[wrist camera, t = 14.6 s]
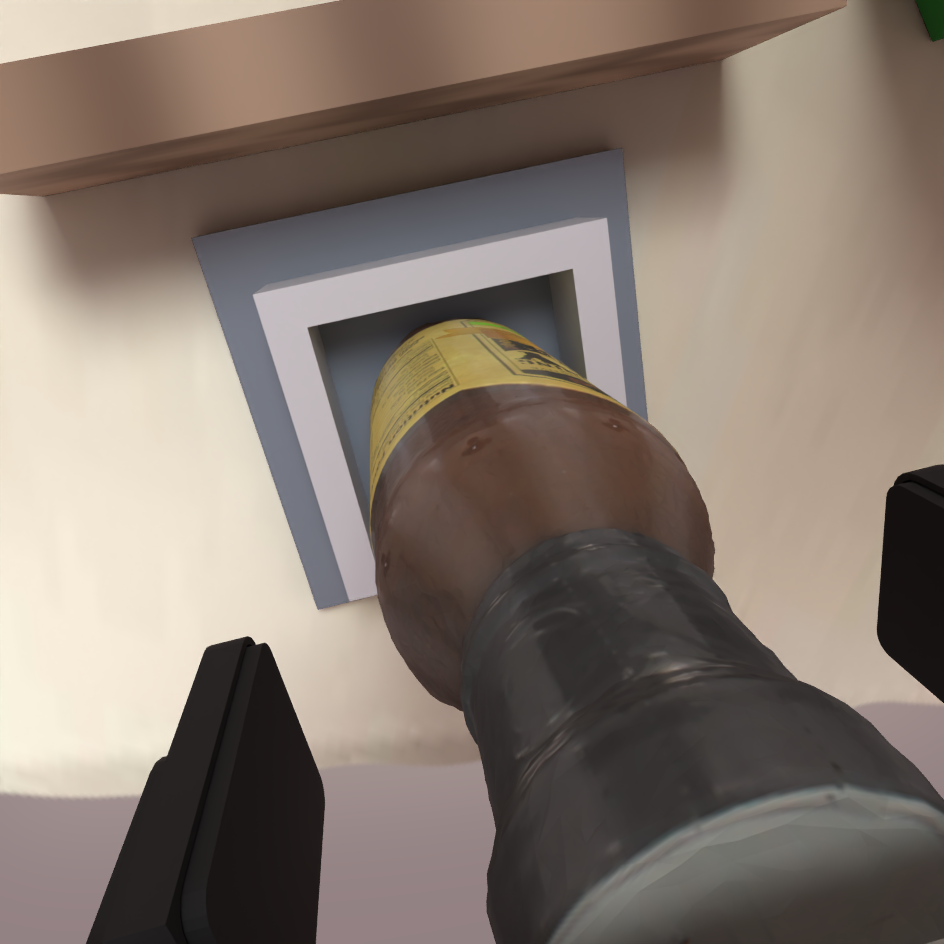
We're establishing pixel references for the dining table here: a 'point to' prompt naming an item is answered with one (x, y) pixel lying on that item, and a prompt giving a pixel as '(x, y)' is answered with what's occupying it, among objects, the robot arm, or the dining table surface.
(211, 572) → the dining table surface
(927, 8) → the milk carton
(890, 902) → the sauce bottle
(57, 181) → the walnut wall
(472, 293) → the holder
